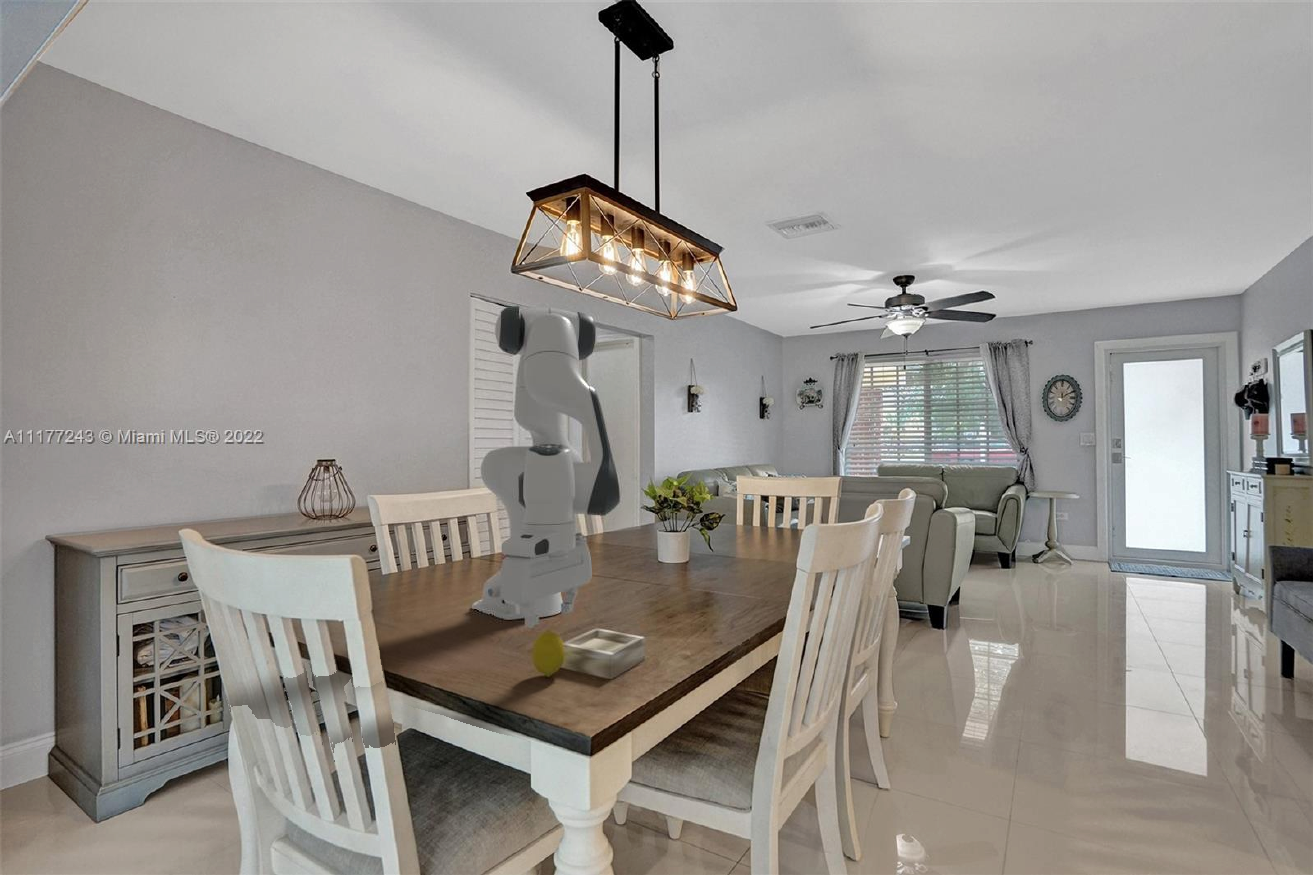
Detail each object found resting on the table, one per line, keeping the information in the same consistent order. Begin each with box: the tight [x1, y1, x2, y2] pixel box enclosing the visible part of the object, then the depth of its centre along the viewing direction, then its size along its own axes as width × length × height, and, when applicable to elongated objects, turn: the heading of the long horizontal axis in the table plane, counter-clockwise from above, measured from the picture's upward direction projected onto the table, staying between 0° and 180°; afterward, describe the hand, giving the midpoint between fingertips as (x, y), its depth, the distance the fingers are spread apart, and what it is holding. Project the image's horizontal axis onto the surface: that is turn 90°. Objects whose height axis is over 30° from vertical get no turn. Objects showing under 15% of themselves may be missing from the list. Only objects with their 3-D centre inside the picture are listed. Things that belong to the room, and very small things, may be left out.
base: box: [560, 627, 646, 680], centre depth 116 cm, size 11×11×4 cm
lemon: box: [531, 629, 565, 678], centre depth 109 cm, size 6×6×8 cm
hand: (550, 619), depth 109 cm, fingers open, 8 cm apart
